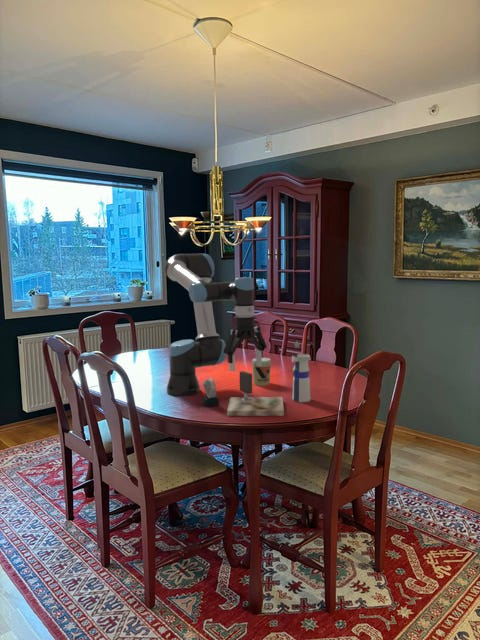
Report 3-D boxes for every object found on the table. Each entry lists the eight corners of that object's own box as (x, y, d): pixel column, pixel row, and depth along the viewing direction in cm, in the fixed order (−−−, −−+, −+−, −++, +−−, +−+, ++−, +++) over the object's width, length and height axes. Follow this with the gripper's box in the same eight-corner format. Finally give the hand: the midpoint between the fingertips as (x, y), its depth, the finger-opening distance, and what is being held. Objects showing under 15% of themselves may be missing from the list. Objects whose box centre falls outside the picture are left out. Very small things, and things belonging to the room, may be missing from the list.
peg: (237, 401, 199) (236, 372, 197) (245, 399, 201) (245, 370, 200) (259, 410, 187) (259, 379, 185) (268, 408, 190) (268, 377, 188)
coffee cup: (255, 387, 228) (255, 362, 227) (249, 382, 237) (249, 358, 236) (274, 385, 231) (273, 360, 229) (267, 380, 240) (267, 356, 238)
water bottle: (286, 399, 207) (286, 342, 204) (299, 395, 213) (299, 339, 210) (302, 403, 202) (302, 344, 198) (314, 399, 208) (314, 341, 204)
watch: (214, 401, 207) (213, 376, 206) (220, 406, 200) (219, 380, 198) (201, 402, 205) (201, 377, 204) (207, 408, 198) (206, 382, 196)
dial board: (227, 415, 188) (227, 410, 188) (230, 401, 206) (230, 396, 206) (283, 415, 187) (283, 410, 187) (282, 401, 205) (282, 396, 205)
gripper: (224, 319, 182) (226, 374, 185) (274, 314, 197) (275, 365, 200) (213, 318, 188) (215, 371, 191) (262, 312, 203) (263, 362, 206)
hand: (246, 368), depth 195 cm, fingers open, 13 cm apart
